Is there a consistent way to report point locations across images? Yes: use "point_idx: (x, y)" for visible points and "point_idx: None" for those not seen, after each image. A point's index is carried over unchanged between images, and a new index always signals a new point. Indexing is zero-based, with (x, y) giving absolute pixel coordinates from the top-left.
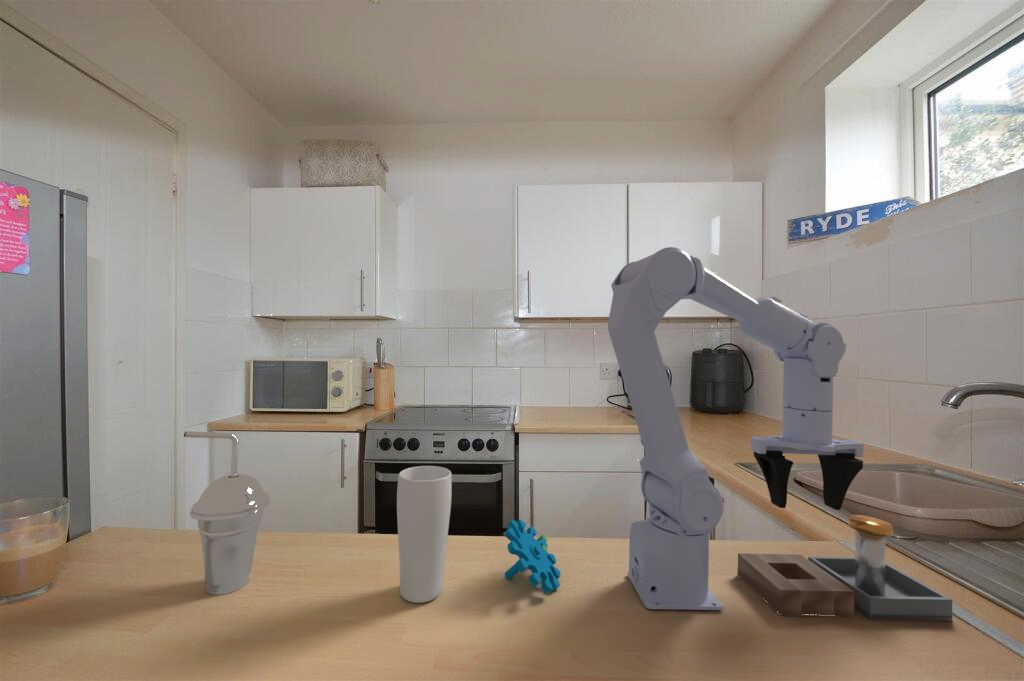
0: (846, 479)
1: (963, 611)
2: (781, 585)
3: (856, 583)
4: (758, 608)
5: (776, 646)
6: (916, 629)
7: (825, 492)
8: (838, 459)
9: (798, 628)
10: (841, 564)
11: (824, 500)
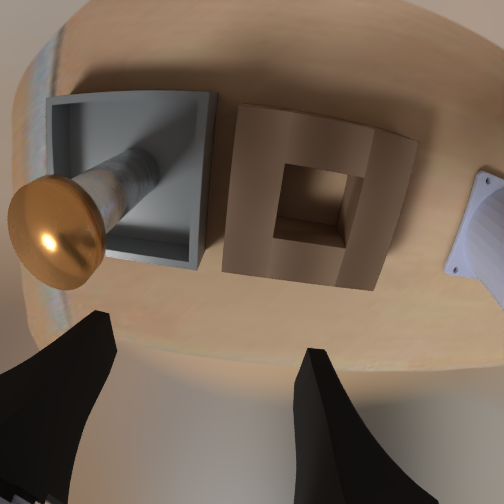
0: (22, 385)
1: (32, 125)
2: (401, 157)
3: (153, 184)
4: (417, 162)
5: (462, 75)
6: (153, 64)
7: (99, 381)
8: (12, 477)
9: (394, 95)
10: (132, 246)
11: (112, 361)
